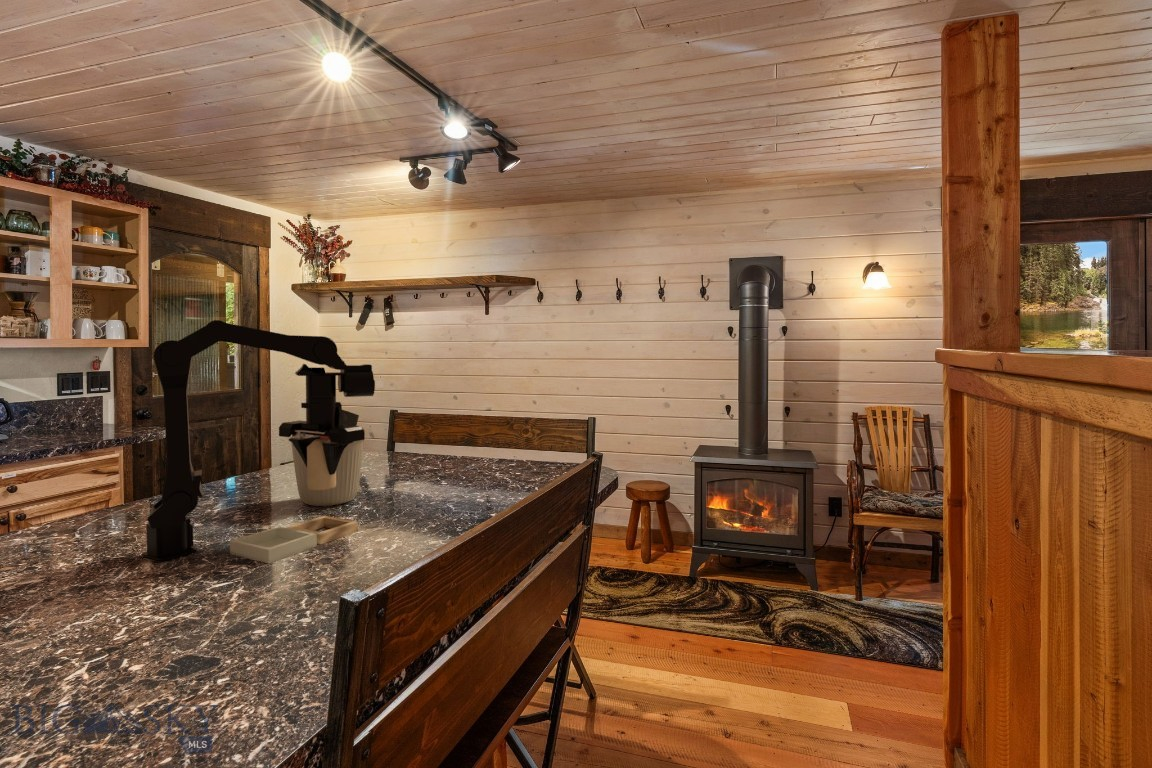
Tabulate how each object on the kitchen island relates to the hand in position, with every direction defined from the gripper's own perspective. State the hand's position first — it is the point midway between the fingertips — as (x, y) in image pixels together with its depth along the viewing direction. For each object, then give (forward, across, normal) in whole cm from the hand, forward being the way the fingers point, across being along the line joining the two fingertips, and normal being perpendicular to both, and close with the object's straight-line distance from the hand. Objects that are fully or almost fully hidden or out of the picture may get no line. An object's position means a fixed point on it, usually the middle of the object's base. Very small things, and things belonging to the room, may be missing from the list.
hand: (321, 472), depth 128 cm
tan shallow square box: (+13, 0, 0) cm, 13 cm away
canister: (+13, +20, -20) cm, 31 cm away
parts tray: (+13, 0, +12) cm, 17 cm away
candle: (+3, 0, 0) cm, 3 cm away
